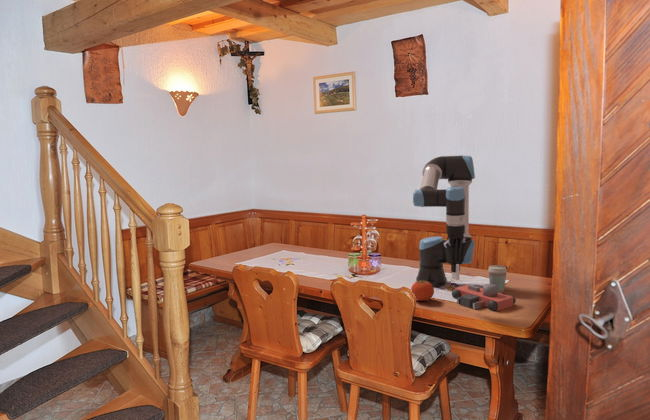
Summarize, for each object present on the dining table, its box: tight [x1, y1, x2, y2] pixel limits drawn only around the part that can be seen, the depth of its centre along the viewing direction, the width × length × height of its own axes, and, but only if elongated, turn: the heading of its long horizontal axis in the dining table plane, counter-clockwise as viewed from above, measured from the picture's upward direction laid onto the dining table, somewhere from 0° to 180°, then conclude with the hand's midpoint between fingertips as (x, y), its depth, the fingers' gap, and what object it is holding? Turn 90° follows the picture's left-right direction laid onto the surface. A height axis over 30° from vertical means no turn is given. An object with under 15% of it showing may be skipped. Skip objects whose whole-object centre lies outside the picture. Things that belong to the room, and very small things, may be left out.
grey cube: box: [459, 294, 479, 309], centre depth 206 cm, size 5×6×4 cm
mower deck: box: [451, 283, 517, 312], centre depth 210 cm, size 24×13×8 cm, turn 32°
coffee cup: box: [487, 264, 508, 294], centre depth 223 cm, size 8×8×12 cm
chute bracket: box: [456, 297, 484, 310], centre depth 207 cm, size 10×6×2 cm, turn 32°
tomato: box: [410, 279, 435, 302], centre depth 214 cm, size 10×10×10 cm
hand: (455, 279), depth 201 cm, fingers closed
